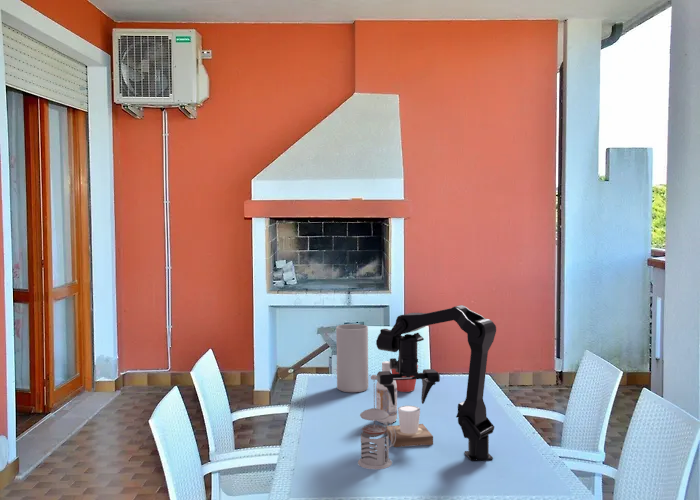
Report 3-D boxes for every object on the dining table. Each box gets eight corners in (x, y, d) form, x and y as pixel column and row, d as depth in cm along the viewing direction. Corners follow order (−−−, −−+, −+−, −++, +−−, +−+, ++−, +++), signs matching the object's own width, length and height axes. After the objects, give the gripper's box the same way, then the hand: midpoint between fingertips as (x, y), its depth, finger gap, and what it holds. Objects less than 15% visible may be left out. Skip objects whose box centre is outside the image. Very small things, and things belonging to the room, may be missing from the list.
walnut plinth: (433, 444, 200) (433, 435, 199) (394, 447, 198) (394, 438, 198) (422, 431, 211) (422, 423, 211) (386, 433, 210) (386, 425, 209)
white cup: (419, 434, 200) (419, 412, 200) (396, 433, 202) (396, 411, 201) (421, 427, 207) (421, 405, 207) (399, 426, 208) (399, 404, 208)
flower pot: (386, 388, 264) (385, 364, 264) (409, 384, 269) (409, 361, 268) (398, 394, 255) (398, 369, 254) (423, 391, 259) (423, 366, 259)
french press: (371, 453, 193) (370, 369, 191) (404, 462, 185) (403, 374, 184) (350, 463, 185) (349, 375, 184) (383, 473, 178) (382, 382, 176)
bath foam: (373, 418, 225) (373, 360, 224) (392, 416, 227) (392, 359, 226) (380, 424, 219) (380, 365, 217) (400, 422, 221) (399, 363, 219)
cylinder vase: (332, 391, 259) (332, 328, 258) (342, 383, 271) (341, 323, 270) (363, 394, 256) (362, 330, 254) (371, 385, 268) (371, 324, 266)
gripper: (430, 347, 213) (430, 395, 213) (373, 349, 210) (373, 398, 211) (440, 355, 202) (440, 405, 202) (380, 357, 199) (380, 408, 200)
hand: (408, 404), depth 204 cm, fingers open, 9 cm apart
